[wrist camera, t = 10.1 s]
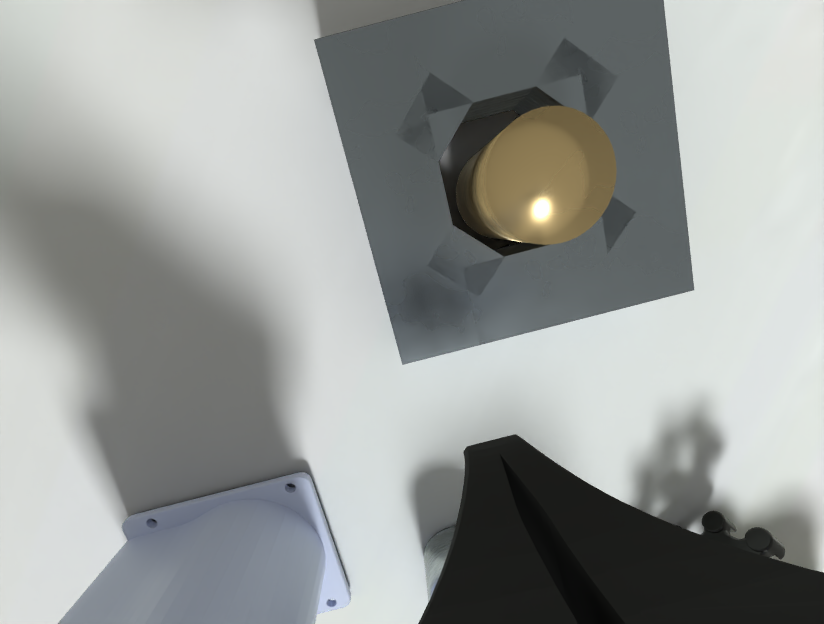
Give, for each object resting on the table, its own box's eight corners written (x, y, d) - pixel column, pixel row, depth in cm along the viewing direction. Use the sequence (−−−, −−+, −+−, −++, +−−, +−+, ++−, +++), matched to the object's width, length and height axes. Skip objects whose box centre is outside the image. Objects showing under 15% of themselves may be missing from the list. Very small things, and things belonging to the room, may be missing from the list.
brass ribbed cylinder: (466, 248, 19) (499, 258, 13) (447, 157, 18) (473, 123, 12) (551, 226, 19) (624, 227, 13) (536, 135, 18) (607, 91, 12)
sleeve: (453, 591, 23) (467, 672, 19) (409, 554, 22) (415, 630, 18) (504, 554, 22) (529, 629, 18) (462, 514, 21) (479, 584, 17)
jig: (401, 343, 19) (402, 364, 17) (327, 71, 17) (314, 39, 14) (648, 280, 19) (694, 290, 16) (611, -3, 17) (658, -52, 14)
